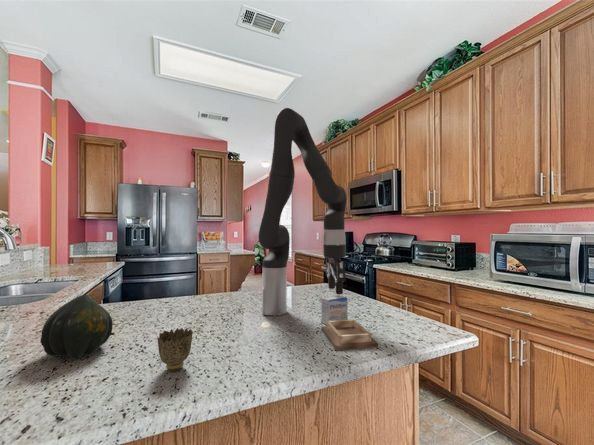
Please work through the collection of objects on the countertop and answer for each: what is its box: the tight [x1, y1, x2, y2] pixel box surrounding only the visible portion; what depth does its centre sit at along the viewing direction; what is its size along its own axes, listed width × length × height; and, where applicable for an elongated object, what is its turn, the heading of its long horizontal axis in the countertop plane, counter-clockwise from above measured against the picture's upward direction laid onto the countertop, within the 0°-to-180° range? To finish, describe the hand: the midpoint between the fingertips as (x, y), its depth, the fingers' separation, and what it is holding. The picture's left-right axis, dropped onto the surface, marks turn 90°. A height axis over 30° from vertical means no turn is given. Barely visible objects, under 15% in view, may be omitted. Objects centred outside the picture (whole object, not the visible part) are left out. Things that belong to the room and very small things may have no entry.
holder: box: [320, 319, 379, 351], centre depth 83 cm, size 12×15×3 cm
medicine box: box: [320, 294, 349, 326], centre depth 96 cm, size 8×4×9 cm, turn 118°
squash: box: [40, 294, 114, 360], centre depth 73 cm, size 14×15×15 cm
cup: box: [156, 327, 194, 372], centre depth 65 cm, size 8×7×8 cm
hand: (335, 291), depth 96 cm, fingers open, 8 cm apart
